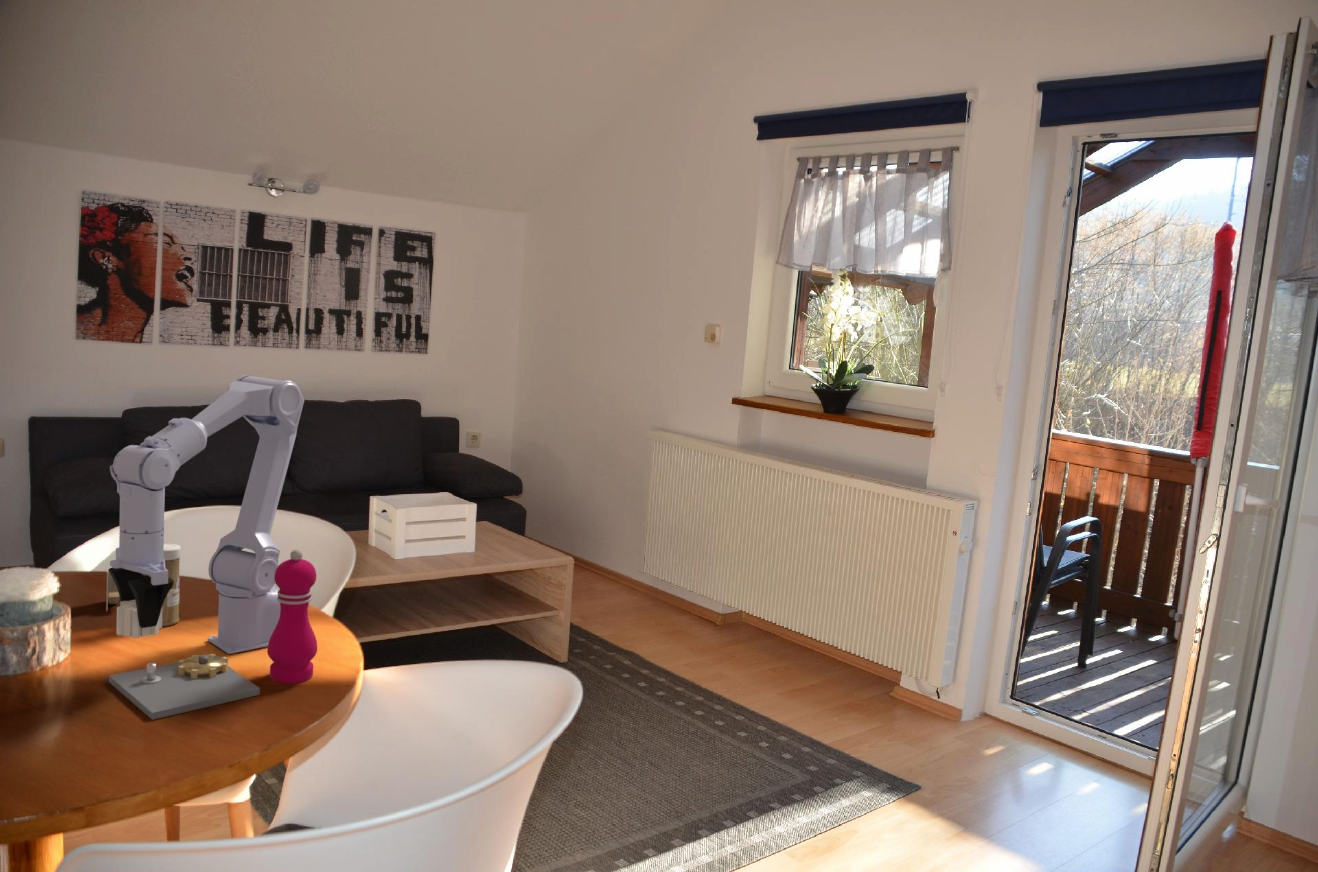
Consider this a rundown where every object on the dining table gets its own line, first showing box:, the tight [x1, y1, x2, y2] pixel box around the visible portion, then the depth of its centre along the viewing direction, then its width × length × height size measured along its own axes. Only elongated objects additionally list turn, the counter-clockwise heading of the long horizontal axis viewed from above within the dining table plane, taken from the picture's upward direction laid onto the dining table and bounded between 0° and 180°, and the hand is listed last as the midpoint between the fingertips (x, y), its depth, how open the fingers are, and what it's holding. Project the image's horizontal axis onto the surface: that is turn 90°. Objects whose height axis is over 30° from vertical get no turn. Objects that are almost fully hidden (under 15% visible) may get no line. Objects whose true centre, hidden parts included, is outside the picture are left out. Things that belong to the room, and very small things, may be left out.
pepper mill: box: [266, 549, 318, 684], centre depth 155 cm, size 7×7×20 cm
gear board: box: [108, 653, 261, 721], centre depth 148 cm, size 15×16×4 cm
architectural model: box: [105, 563, 120, 612], centre depth 179 cm, size 3×7×7 cm, turn 28°
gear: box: [115, 600, 163, 639], centre depth 148 cm, size 6×6×4 cm
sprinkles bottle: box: [162, 543, 182, 627], centre depth 173 cm, size 5×5×13 cm
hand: (140, 620), depth 148 cm, fingers closed on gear, 6 cm apart
